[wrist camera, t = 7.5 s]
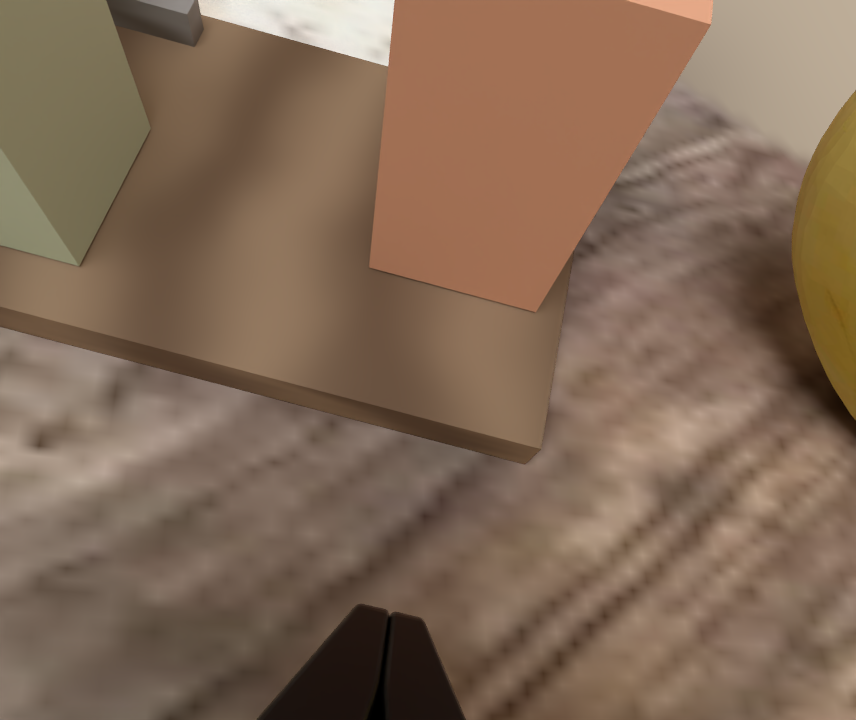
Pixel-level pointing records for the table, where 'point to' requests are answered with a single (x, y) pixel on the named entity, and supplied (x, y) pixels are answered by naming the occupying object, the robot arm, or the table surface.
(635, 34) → the terracotta block
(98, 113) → the sage block
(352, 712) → the robot arm
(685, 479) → the table surface
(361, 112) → the studded brown plank
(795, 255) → the banana
